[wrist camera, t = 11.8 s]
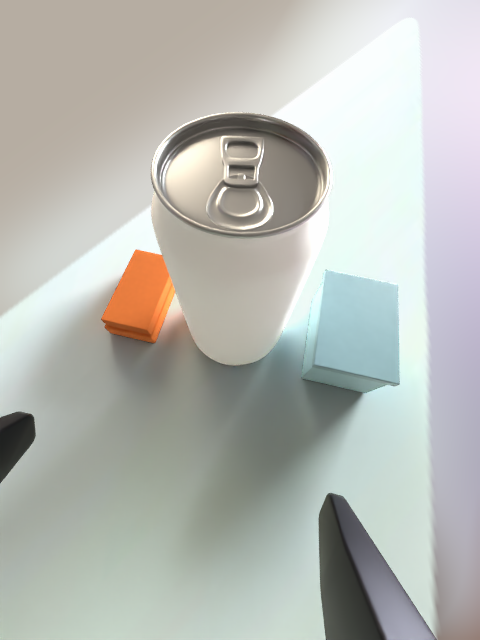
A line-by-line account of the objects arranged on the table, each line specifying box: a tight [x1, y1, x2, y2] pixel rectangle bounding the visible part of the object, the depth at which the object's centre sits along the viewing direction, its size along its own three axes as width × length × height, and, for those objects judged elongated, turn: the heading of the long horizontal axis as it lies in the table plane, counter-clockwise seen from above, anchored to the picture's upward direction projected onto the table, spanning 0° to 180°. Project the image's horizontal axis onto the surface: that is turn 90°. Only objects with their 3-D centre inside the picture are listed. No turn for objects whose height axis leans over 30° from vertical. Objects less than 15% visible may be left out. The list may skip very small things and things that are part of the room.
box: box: [301, 270, 400, 393], centre depth 17 cm, size 6×4×4 cm
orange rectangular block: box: [101, 250, 175, 343], centre depth 19 cm, size 6×3×2 cm, turn 167°
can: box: [151, 112, 332, 365], centre depth 14 cm, size 6×6×12 cm
